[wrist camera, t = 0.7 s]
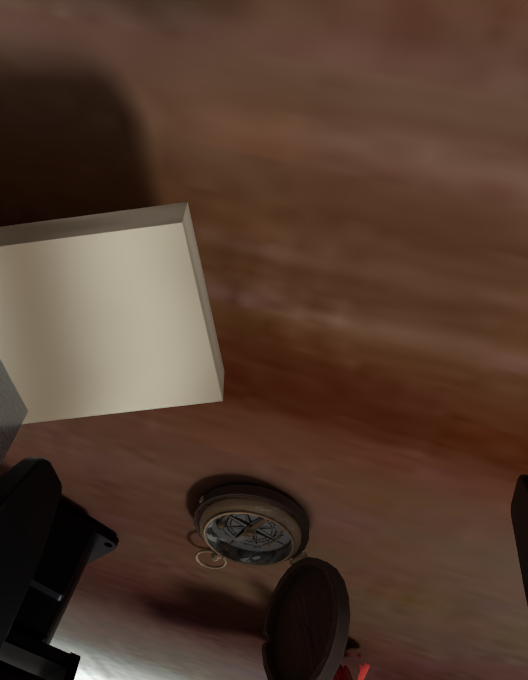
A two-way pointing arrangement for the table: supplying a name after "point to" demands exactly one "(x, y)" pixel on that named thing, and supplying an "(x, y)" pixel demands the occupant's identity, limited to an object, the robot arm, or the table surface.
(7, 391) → the steel block
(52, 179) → the table surface
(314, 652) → the compass
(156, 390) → the plank
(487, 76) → the table surface
